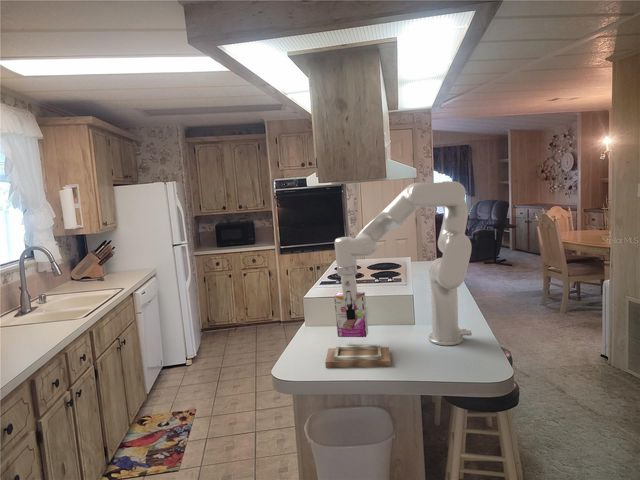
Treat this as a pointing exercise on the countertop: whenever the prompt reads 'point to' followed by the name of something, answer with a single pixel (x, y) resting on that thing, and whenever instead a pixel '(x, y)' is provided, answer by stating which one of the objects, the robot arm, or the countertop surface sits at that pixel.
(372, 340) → the countertop surface
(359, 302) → the candy bar box
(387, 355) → the walnut plinth
